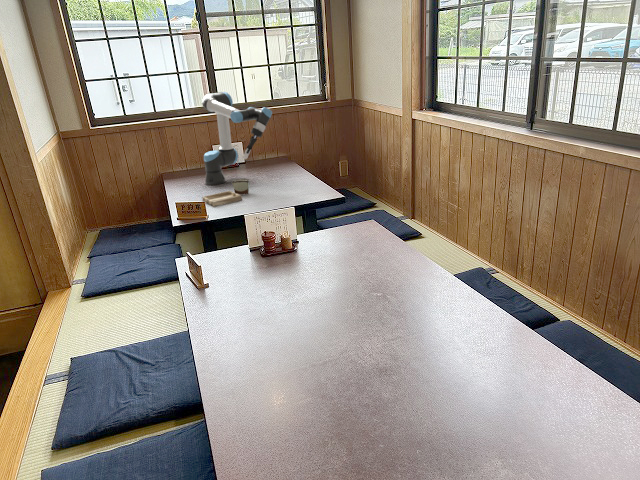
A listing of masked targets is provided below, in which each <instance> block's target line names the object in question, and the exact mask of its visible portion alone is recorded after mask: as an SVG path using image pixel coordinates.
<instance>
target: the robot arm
mask: <svg viewBox="0 0 640 480" xmlns="http://www.w3.org/2000/svg"><path fill="white" fill-rule="evenodd" d="M201 104H202V107H203V108H204V110H206V111H208V112H210V113H215V114H216V121H217V129H218V130H217V131H218V138H219V147H218V150H210V151H207V152H205V153H204V155H203V161H204V169H205V178H204V184H205V185H208V186H216V185H220V184H224V183H226V178H225V175H224V173H223V171H222V168H224V167H227V166H232V165H234V164H236V163H237V162H238V159H239V153H238V151H237V149H235V148H234V146H233V144H232V134H231V126H230V120H231V121H232V122H233V123H235V124H238V123H239V124H240V123H243V122H244V123H245V122H248V121H253V120H254V121H255V122H254V124H253V126H252V127H253V128H252V129H251V130H250V133H251V134H252V135H253V136H251V137H250V140H249V143H248V145H247V146H246V149H245V151H244V153H243V155H242V156H241V157H242V159H243V160H247V159H248V157H249V155H250V153H251V151H252V149H253V146H254V145H255V144H256V142H257V140H258V138H262V136H263V134H264V132H265V130H267V129H266V128H267V125H268V123H269V122H270V119H271V117H272V115H273V111H272V110H271V109H269V108H268V107H265V106H263V107H262V108H261V109H259V108H256V107H253V106H249V107H248V108H246V109H238V108H235V107H233V104H234V103H233V98H232V96H231V95H230V94H229V93H228V92H226V91H220V92H219V91H218V92H214V93H213V92H212V93H207V94H205V95H204V96H203V97H202V100H201Z"/></svg>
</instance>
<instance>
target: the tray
mask: <svg viewBox="0 0 640 480" xmlns="http://www.w3.org/2000/svg"><path fill="white" fill-rule="evenodd" d="M242 197H243V196H242V195H239V194H236V193H235V192H234V191H231V190H227V191H223V192H217V193H214V194H209V195H205V196H202V197H201V198H202V202H203V201H205V202H206V203H205V202H204V203H205V204H208V205H209V206H211V207H213V208H215V207H219V206H223V205H226V204H227V205H228V204H232V203H235V202H239V201H242V200H243V198H242Z"/></svg>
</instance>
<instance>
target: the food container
mask: <svg viewBox="0 0 640 480" xmlns="http://www.w3.org/2000/svg"><path fill="white" fill-rule="evenodd" d="M249 183H250V180H249V179H248V178H247V177H246V178H245V177H242V178H241V177H240V178H235V179H233V180H231V184H232V187H233V192H234V193H236V194H239V195H241V196H242V195H243V194H245V195H249V191H250V190H249V189H250V186H249ZM243 196H244V195H243Z"/></svg>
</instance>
